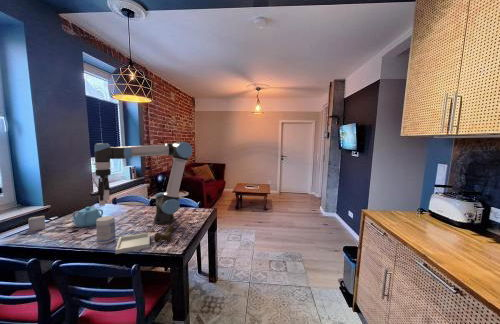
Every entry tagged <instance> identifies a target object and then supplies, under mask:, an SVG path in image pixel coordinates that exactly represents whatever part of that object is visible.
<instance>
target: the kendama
mask: <svg viewBox="0 0 500 324" xmlns="http://www.w3.org/2000/svg"><path fill="white" fill-rule="evenodd" d="M174 231H175V227H174V226H173V225H168V226H167V228H165V231H164V234H162V233H159V232H156V233H155V234H154V237H153V239H154V242H155V243H158V242H159V243H160V242H161V241H166V242H168V243H170V242H171V241H172V239H173V233H174Z"/></svg>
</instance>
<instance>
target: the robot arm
mask: <svg viewBox="0 0 500 324" xmlns="http://www.w3.org/2000/svg"><path fill="white" fill-rule="evenodd" d="M193 152H194V151H193V147H192V145H191V143H189V142H185V141H176V142H170V143H165V144H159V145H158V144H157V145H154V144H153V145H130V146H115V147H114V146H111V145H110V144H109V143H95V144H94V162H95V163H94V164H93V165H94V166H95V176H97V177H99V178H98V188H97V193H96V196H98V202H99V203H98V205H99V207H103V206H106V201H110V190H111V186H110V182H109V176H111V173H112V170H111V160H124V159H125V160H128V159H132V158H133V157H136V158H137V157H147V156H148V157H150V156H151V157H152V156H167V157H168V156H170V157H171V158H172V160H173V164H172V166H171V170H170V175H169V179H168V183H167V185H166V186H167V187H166V191H164V192H158V193H156V194H155V206H156V207H155V210H156V211H155V216H154V219H153V222H154V224H156V225H168V224H171V223H173V222H174V221H175V220H176V219H175V213H177V212H178V211H179V208H180V206H181V205H180V202H179V201H180V198H181V197H180V195H179V192H180V187H181V182H182V179H183V174H184V171H185V166H186V163H188V162H189V159H190V157H191V156H192V155H193Z"/></svg>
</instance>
